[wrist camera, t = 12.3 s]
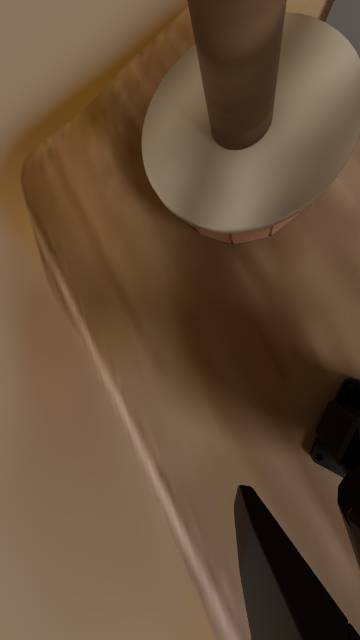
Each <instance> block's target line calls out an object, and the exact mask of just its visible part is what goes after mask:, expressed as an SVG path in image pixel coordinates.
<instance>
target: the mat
mask: <svg viewBox="0 0 360 640" xmlns="http://www.w3.org/2000/svg"><path fill="white" fill-rule="evenodd" d="M325 23H327V24H329V25H330V26H332V27H333V28H335V29H336V30H338V31H339V32H340V33H341V34H342V35H343V36H344V37H345V38H346V39H347V40H348V41H349V42H350V43H351V45H352V46H353V48H354V49H355V50H356V52H357V54H358V56H359V58H360V0H334V2H333V4H332V7H331V9H330V11H329V14H328V16H327V19H326V21H325Z"/></svg>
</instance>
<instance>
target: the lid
mask: <svg viewBox="0 0 360 640" xmlns="http://www.w3.org/2000/svg"><path fill="white" fill-rule="evenodd" d="M188 5H189V11H190V16H191V22H192V27H193V33H194V39H195V44H194V45H193V46H191V47H190V48H189V49H188V50H187V51H186V52H185V53H184V54H183V55H182V56H181V57H180V58H179V59H178V60H177V61H176V62H175V63H174V64H173V66H172V67H171V68H170V69H169V71H168V72H167V73H166V75H165V76H164V78H163V79H162V80H161V82H160V84H159V86H158V87H157V89H156V91H155V93H154V95H153V97H152V99H151V102H150V104H149V107H148V110H147V113H146V116H145V120H144V125H143V130H142V157H143V163H144V167H145V171H146V174H147V177H148V179H149V181H150V183H151V185H152V187H153V189H154V190H155V192H156V193H157V195H158V196H159V198H160V199H161V201H162V202H163V204H164V205H165V206H166V207H167V208H168V209H169V210H170V211H171V212H172V213H173V214H174V215H175V216H177V217H178V218H179V219H180V220H182V221H184V222H185V223H187V224H189V225H191V226H193V227H196V228H198V229H201V230H205V231H209V232H213V233H221V234H242V233H249V232H255V231H258V230H262V229H266V228H269V227H272V226H274V225H276V224H279V223H281V222H284V221H285V220H287V219H289V218H291V217H293V216H295V215H296V214H298V213H299V212H301V211H302V210H304V209H305V208H306V207H308V206H309V205H311V204H312V203H313V202H314V201H315V200H316V199H317V198H318V197H320V196H321V195H322V194H323V193H324V192H325V190H326V189H327V188H328V187H329V186H330V185H331V184H332V183H333V181H334V180H335V178H336V177H337V176H338V174H339V173H340V171H341V170H342V168H343V167H344V165H345V163H346V161H347V160H348V158H349V156H350V154H351V153H352V151H353V149H354V147H355V145H356V143H357V141H358V138H359V136H360V58H359V56H358V54H357V52H356V50H355V49H354V48H353V46H352V45H351V43H350V42H349V41H348V40H347V39H346V38H345V37H344V36H343V35H342V34H341V33H340V32H339V31H338V30H336V29H335V28H333V27H332V26H330V25H329V24H327V23H325V22H323V21H321V20H319V19H316V18H314V17H311V16H307V15H303V14H299V13H290V12H285V8H286V0H188Z"/></svg>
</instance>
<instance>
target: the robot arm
mask: <svg viewBox="0 0 360 640" xmlns="http://www.w3.org/2000/svg"><path fill="white" fill-rule="evenodd" d="M350 383H354V384H355V387H354V388H353V389H350V388H349V384H350ZM316 434H317V438H316V440H315V442H314V444H313V447H312V449H311V451H310V455H311V458H312V459H313V461H314V462H315V463H317V464H319V465H321V466H322V467H324V468H326V469H328V470H330V471H332V472H334V473H336V474H338V475H339V476H341V477H343V480H342V481H341V483H340V484H339V486H338V506H339V509H340V511H341V514H342V517H343V520H344V523H345V526H346V529H347V532H348V535H349V538H350V541H351V544H352V547H353V550H354V553H355V556H356V559H357V562H358V565H359V568H360V381H358V380H356V379H353V378H347V379H345V380H344V382H343V384H342V386H341V388H340V390H339V392H338V394H337V396H336V398H335V400H332V401H330V402H329V404H328V406H327V408H326V410H325V412H324V414H323V416H322V418H321V420H320V422H319V425H318V427H317V429H316ZM318 453H320V454H322V456H321V457H320V458H317V457H315V456H316V454H318ZM234 517H235V528H236V539H237V549H238V560H239V570H240V577H241V583H242V589H243V594H244V600H245V605H246V611H247V617H248V622H249V628H250V633H251V639H252V640H360V636H359V634H358V633H357V632H356V630H355V629H354V627H353V626H352V625H351V624H350V623H349V624H348V620H347V618H346V617H345V615H344V614H343V612H342V611H341V610H340V608H339V607H338V606H337V604H336V603H335V601H334V600H333V599H332V597H331V596H330V594H329V593H328V592H327V590H326V589H325V588H324V586H323V585H322V583H321V582H320V581H319V579H318V578H317V576H316V575H315V574H314V572H313V571H312V570H311V568H310V567H309V565H308V564H307V563H306V561H305V560H304V558H303V557H302V556H301V554H300V553H299V552H298V550H297V549H296V547H295V546H294V545H293V543H292V542H291V540H290V539H289V538H288V536H287V535H286V534H285V532H284V531H283V529H282V528H281V527H280V525H279V524H278V522H277V521H276V520H275V518H274V517H273V516H272V514H271V513H270V511H269V510H268V509H267V507H266V506H265V504H264V503H263V502H262V500H261V499H260V498H259V496H258V495H257V493H256V492H255V491H254V489H253V488H252V487H251V486H245V485H239V486H238V489H237V494H236V498H235V503H234Z"/></svg>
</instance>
